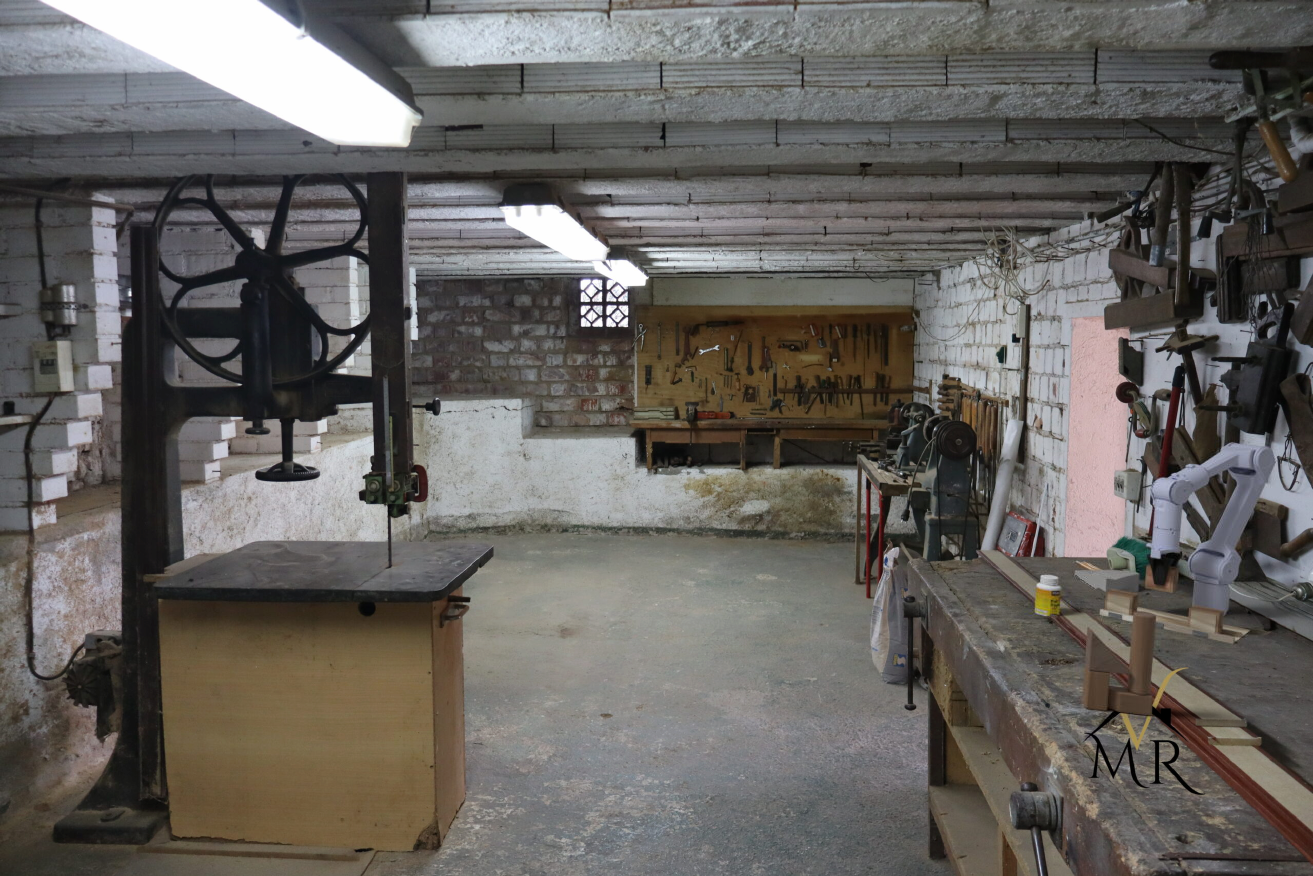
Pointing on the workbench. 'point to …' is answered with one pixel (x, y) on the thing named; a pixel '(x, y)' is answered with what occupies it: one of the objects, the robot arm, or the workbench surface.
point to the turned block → (1170, 583)
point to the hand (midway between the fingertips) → (1162, 583)
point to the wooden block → (1121, 670)
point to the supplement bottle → (1048, 596)
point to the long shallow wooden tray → (1182, 625)
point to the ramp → (1110, 579)
